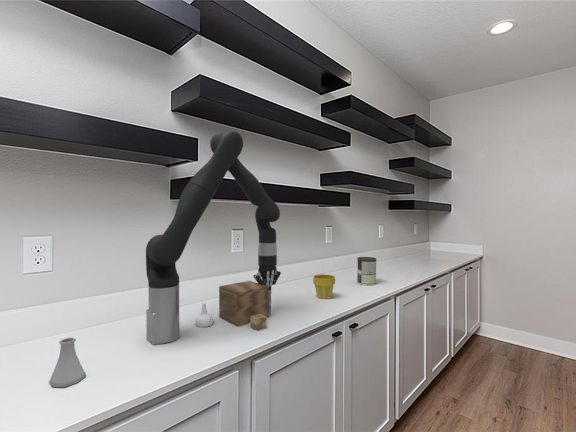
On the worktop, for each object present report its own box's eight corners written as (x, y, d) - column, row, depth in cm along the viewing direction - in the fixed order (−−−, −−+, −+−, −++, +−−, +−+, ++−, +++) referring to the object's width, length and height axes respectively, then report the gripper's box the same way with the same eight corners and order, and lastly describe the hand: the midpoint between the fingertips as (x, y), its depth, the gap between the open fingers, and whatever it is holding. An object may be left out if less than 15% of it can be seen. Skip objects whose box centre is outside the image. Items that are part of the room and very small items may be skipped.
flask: (42, 384, 76) (41, 343, 75) (72, 370, 83) (71, 332, 82) (63, 391, 73) (62, 348, 73) (92, 375, 80) (91, 336, 80)
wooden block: (257, 330, 109) (257, 319, 109) (250, 327, 112) (250, 316, 112) (266, 327, 112) (266, 316, 112) (259, 324, 115) (259, 313, 115)
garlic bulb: (215, 323, 117) (215, 301, 118) (210, 328, 111) (210, 305, 112) (198, 323, 118) (199, 301, 118) (192, 327, 112) (193, 304, 112)
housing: (237, 326, 113) (237, 293, 112) (219, 317, 122) (219, 286, 122) (268, 317, 122) (268, 286, 122) (249, 309, 131) (249, 280, 131)
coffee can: (353, 283, 177) (353, 258, 177) (364, 280, 184) (364, 256, 184) (369, 286, 170) (369, 260, 169) (379, 283, 177) (380, 258, 176)
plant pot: (308, 296, 151) (308, 276, 150) (323, 292, 157) (323, 273, 157) (324, 301, 143) (324, 280, 143) (339, 297, 150) (339, 276, 149)
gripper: (260, 256, 122) (260, 301, 122) (285, 253, 131) (285, 294, 131) (248, 254, 127) (248, 297, 128) (274, 251, 136) (274, 291, 137)
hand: (267, 295), depth 130 cm, fingers closed
